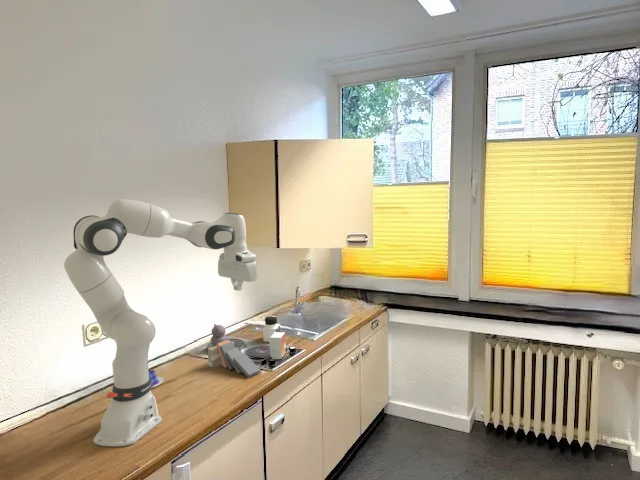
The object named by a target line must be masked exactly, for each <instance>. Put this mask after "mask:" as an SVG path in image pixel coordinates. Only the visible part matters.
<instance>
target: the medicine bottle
mask: <svg viewBox="0 0 640 480" xmlns="http://www.w3.org/2000/svg"><path fill="white" fill-rule="evenodd" d="M264 322H265V325H264V327H262V335H263V336H262V337H263V343H269V337H271V335H272V334H273V333H274V332H281V325H280V323H278V317H276V316H274V315H268V316H266V317H265V318H264Z"/></svg>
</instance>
